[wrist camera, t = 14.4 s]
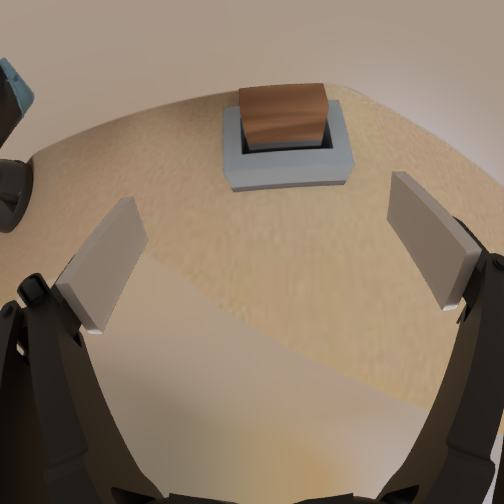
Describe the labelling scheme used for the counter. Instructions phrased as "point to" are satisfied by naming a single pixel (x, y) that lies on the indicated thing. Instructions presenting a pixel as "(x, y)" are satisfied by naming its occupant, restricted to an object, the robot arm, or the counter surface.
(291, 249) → the counter surface
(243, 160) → the frame block
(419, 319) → the counter surface
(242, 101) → the brown wood block
